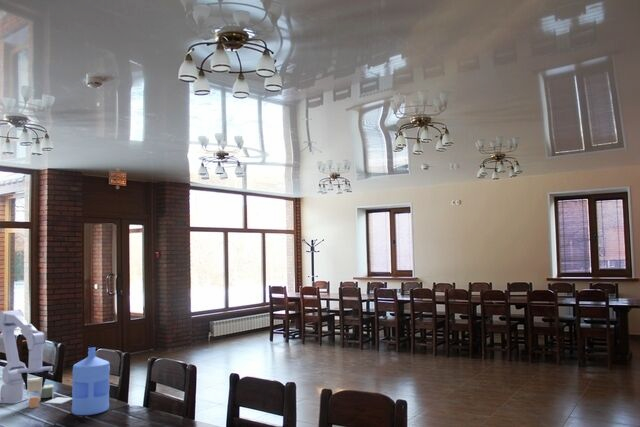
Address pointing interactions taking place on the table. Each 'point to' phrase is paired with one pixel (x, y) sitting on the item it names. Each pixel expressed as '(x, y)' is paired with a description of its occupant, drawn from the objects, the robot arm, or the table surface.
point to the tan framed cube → (34, 385)
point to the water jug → (90, 385)
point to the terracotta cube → (34, 402)
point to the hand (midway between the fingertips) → (34, 388)
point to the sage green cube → (47, 391)
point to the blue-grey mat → (58, 400)
